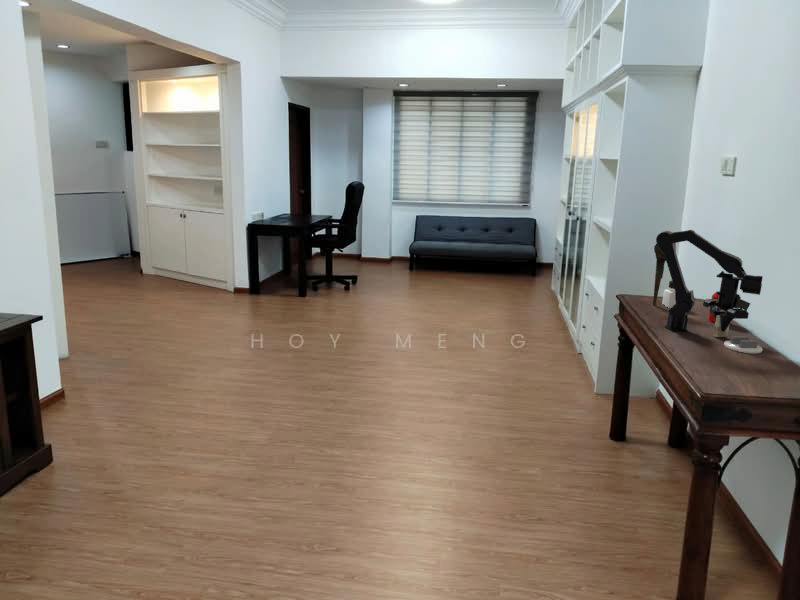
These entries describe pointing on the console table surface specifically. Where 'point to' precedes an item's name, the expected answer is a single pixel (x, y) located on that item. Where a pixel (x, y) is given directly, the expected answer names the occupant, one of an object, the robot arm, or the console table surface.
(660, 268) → the decorative torch
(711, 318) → the soda can
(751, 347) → the dish
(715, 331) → the block
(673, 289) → the medicine bottle
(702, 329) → the console table surface
